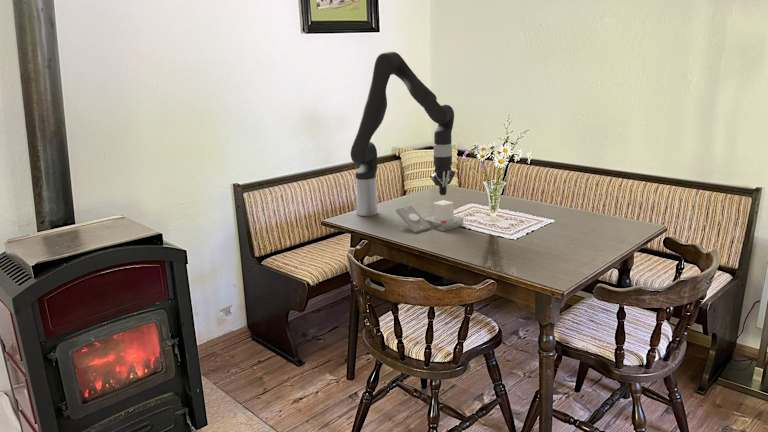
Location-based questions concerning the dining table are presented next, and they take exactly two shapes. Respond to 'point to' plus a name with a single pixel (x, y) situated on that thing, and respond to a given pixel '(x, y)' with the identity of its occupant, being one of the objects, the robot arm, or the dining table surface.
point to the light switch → (413, 219)
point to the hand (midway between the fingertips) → (442, 194)
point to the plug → (443, 210)
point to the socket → (444, 223)
